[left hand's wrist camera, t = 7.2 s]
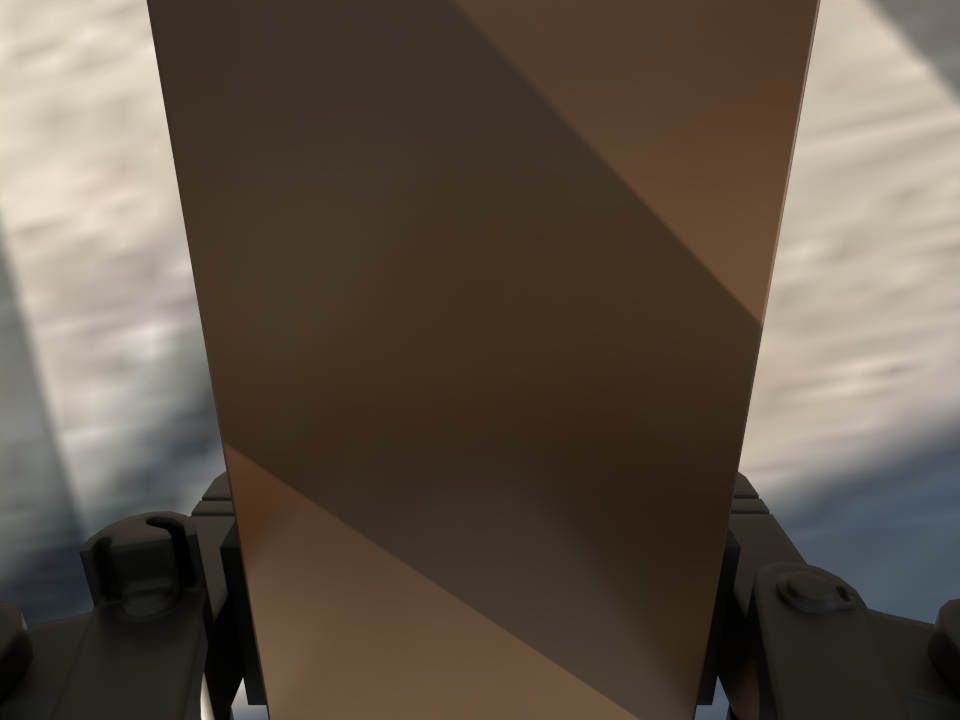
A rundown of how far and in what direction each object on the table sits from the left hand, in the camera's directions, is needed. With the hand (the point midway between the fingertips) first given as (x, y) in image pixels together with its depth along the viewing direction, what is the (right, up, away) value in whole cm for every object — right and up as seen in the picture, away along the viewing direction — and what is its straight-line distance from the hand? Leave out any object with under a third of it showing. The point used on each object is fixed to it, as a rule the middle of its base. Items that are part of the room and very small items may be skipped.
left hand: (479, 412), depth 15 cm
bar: (0, -28, +12) cm, 30 cm away
